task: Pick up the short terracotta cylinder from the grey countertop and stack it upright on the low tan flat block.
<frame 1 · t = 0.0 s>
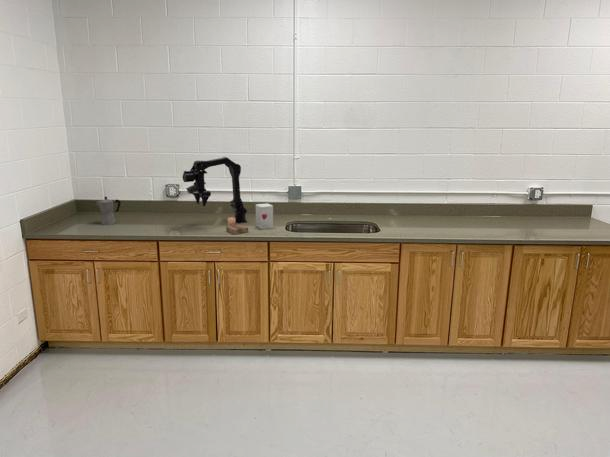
hand: (200, 205, 296), 15 cm above the counter, fingers open, 9 cm apart
supplement box: (264, 227, 301), on the counter
tan flat block: (237, 231, 289), on the counter
terracotta cylinder: (231, 226, 301), on the counter
coffeepot: (110, 223, 307), on the counter
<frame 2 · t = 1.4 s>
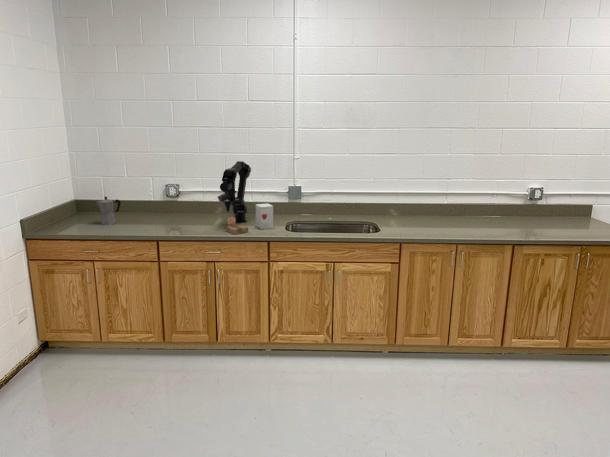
hand: (231, 213, 299), 9 cm above the counter, fingers open, 9 cm apart
nothing on the counter moved.
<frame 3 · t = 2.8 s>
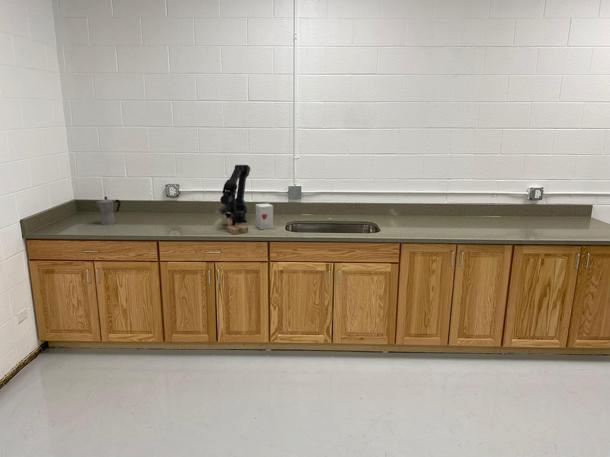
hand: (231, 225, 301), 1 cm above the counter, fingers closed on terracotta cylinder, 5 cm apart
terracotta cylinder: (231, 226, 301), on the counter, touching gripper
everything else where it was.
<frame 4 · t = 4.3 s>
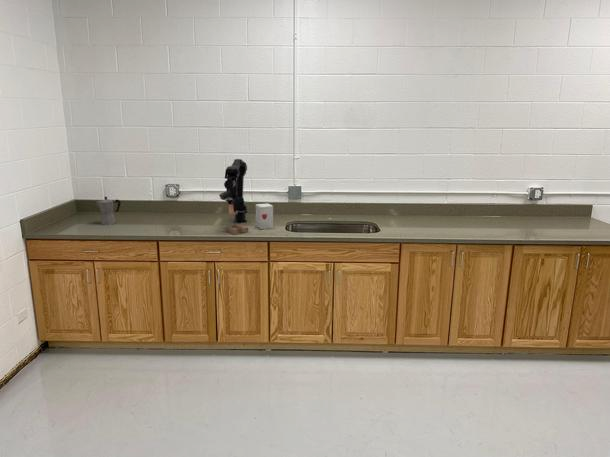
hand: (233, 211, 293), 12 cm above the counter, fingers closed on terracotta cylinder, 5 cm apart
terracotta cylinder: (233, 213, 293), point 10 cm above the counter, touching gripper
everything else where it was.
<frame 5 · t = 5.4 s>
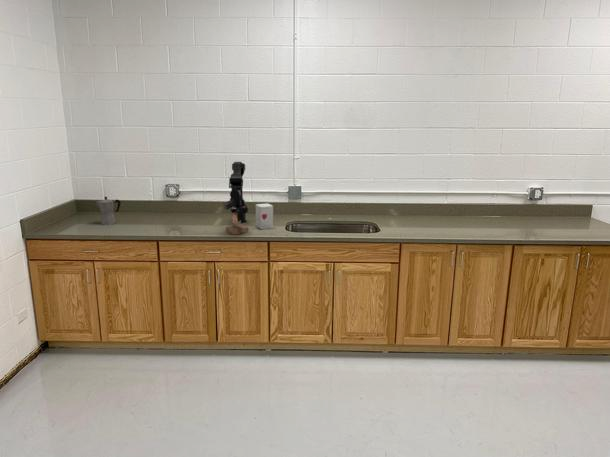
hand: (236, 220, 288), 7 cm above the counter, fingers closed on terracotta cylinder, 5 cm apart
terracotta cylinder: (236, 222, 288), point 6 cm above the counter, touching gripper
everything else where it was.
when the fingers open (5 cm above the counter, at t = 6.1 s): terracotta cylinder stays where it is, resting on tan flat block.
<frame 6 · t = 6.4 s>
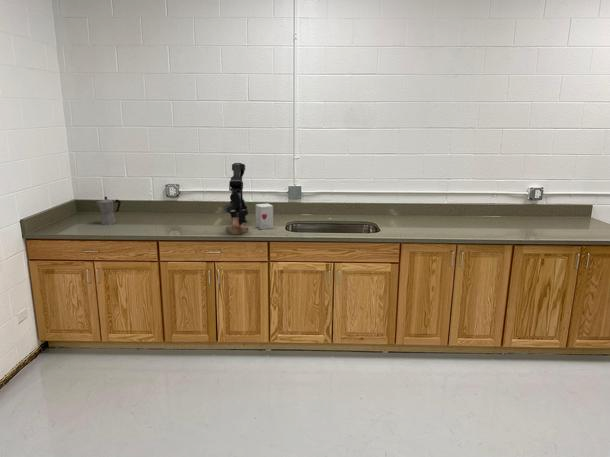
hand: (237, 223, 288), 5 cm above the counter, fingers open, 8 cm apart
terracotta cylinder: (237, 227, 289), point 3 cm above the counter, touching tan flat block
everything else where it was.
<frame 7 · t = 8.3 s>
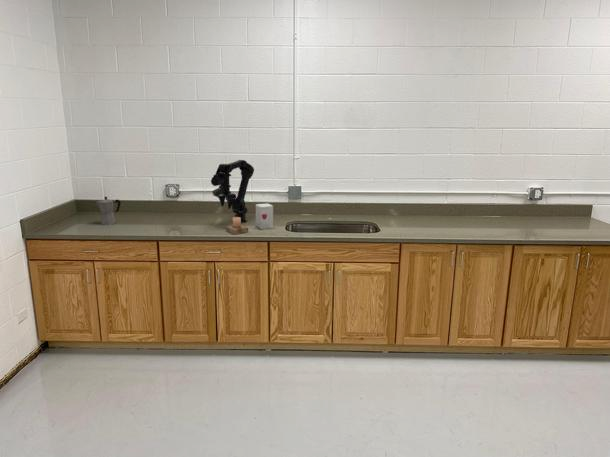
hand: (225, 207, 300), 12 cm above the counter, fingers open, 9 cm apart
nothing on the counter moved.
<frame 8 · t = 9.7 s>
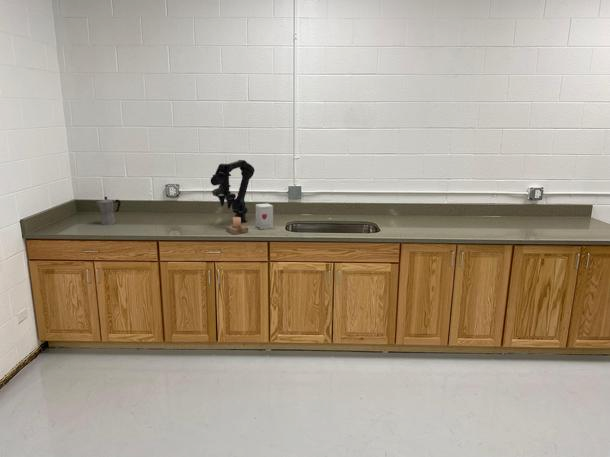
hand: (225, 207, 300), 13 cm above the counter, fingers open, 9 cm apart
nothing on the counter moved.
at the end: terracotta cylinder inside the target area on the tan flat block (0.1 cm from its centre), point 3.0 cm above the tan flat block's base; terracotta cylinder tilted 1°; the gripper is holding nothing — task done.
